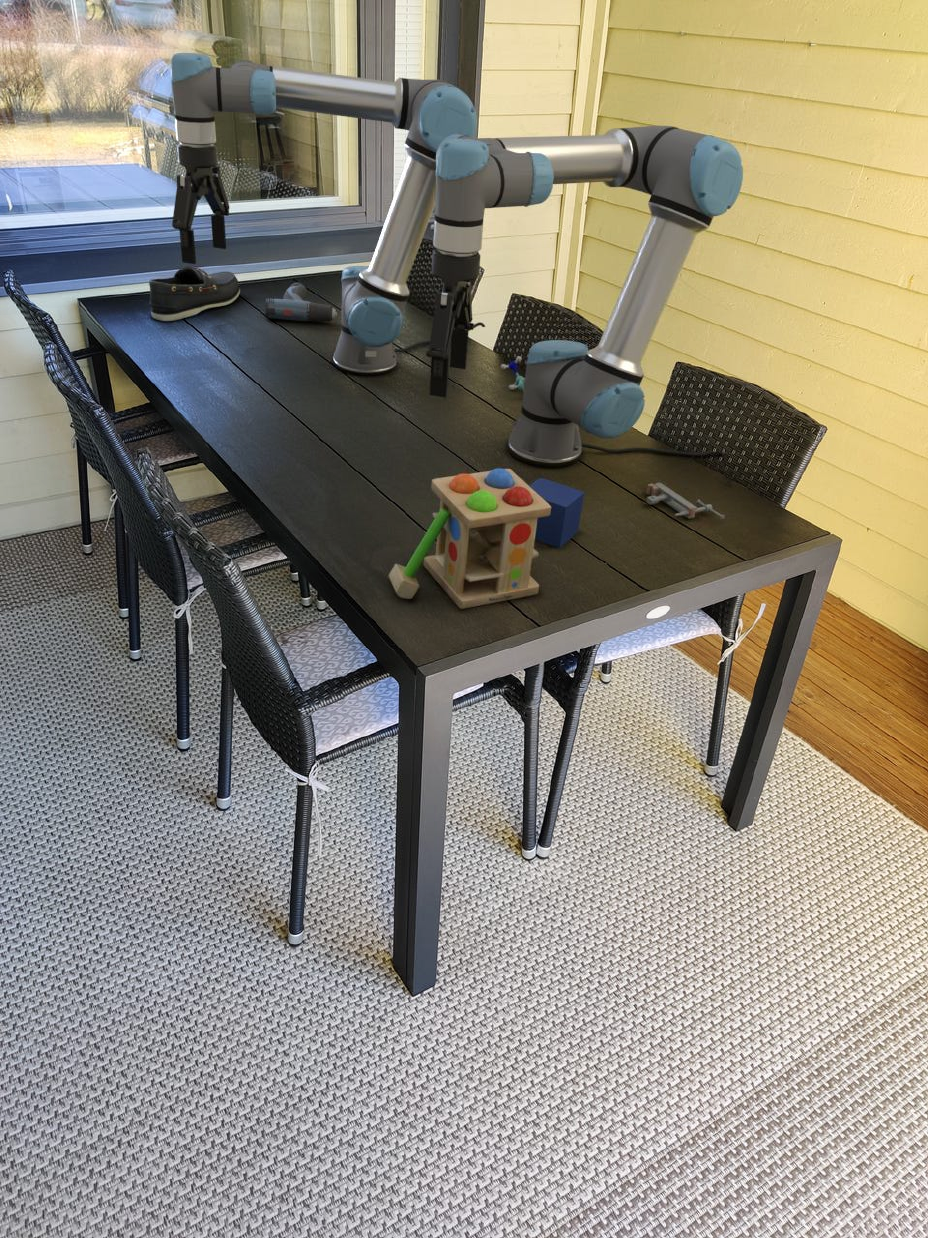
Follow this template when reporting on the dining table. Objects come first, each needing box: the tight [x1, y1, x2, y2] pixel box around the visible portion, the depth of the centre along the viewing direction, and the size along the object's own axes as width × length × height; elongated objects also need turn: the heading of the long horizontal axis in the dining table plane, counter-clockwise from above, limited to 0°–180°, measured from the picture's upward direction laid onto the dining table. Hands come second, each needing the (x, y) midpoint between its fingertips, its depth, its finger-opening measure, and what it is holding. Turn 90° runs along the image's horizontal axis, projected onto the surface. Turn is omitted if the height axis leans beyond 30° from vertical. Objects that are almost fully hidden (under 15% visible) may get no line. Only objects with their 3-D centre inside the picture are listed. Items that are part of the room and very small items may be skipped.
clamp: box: [645, 482, 726, 521], centre depth 187 cm, size 15×2×10 cm
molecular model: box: [500, 355, 525, 393], centre depth 230 cm, size 12×10×10 cm
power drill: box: [264, 282, 338, 322], centre depth 265 cm, size 5×19×20 cm
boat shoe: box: [148, 265, 241, 322], centre depth 262 cm, size 13×33×10 cm, turn 147°
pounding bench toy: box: [388, 468, 551, 610], centre depth 154 cm, size 23×14×18 cm, turn 116°
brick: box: [528, 477, 585, 549], centre depth 174 cm, size 7×9×8 cm
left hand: (204, 255), depth 205 cm, fingers open, 13 cm apart
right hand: (448, 381), depth 164 cm, fingers open, 13 cm apart
